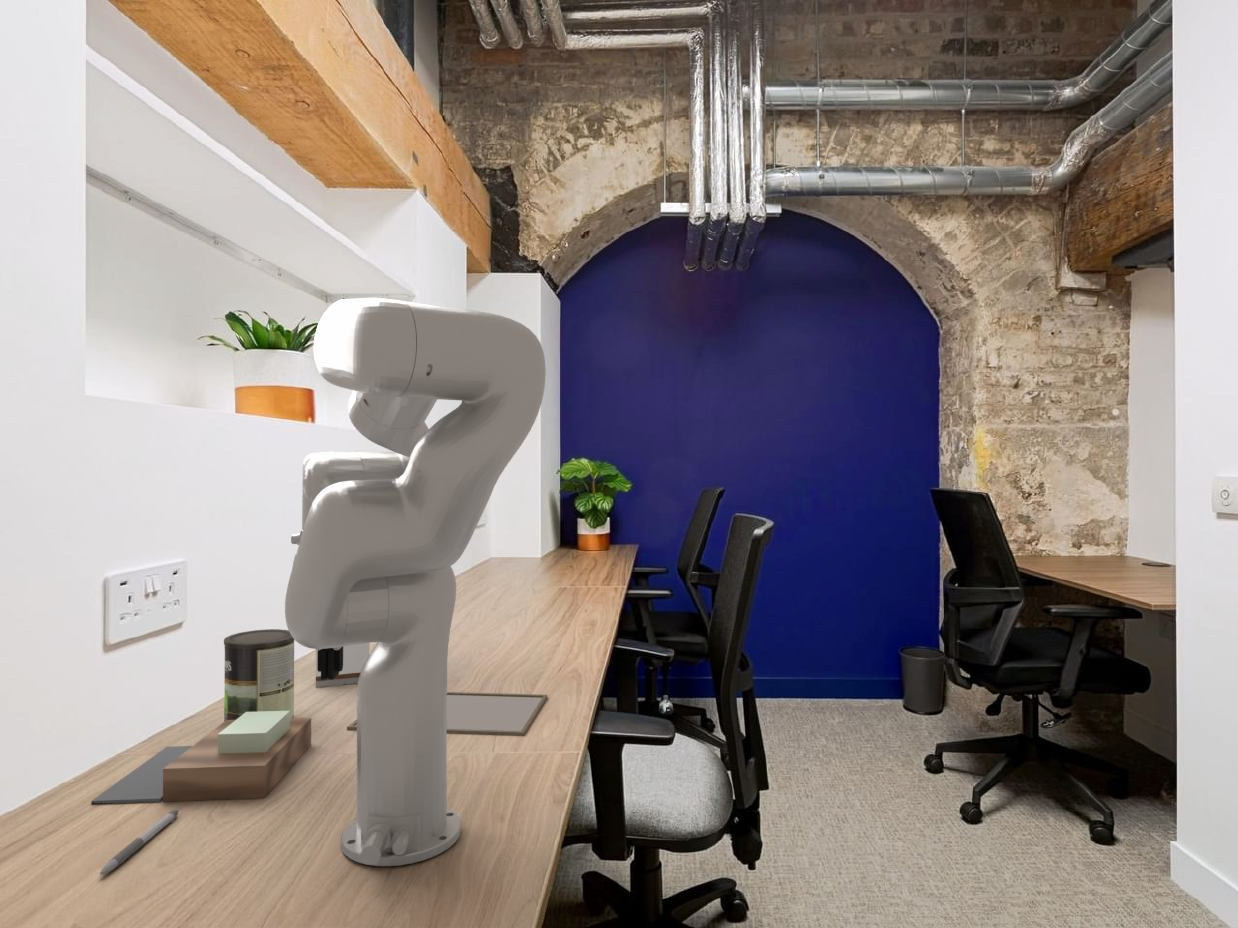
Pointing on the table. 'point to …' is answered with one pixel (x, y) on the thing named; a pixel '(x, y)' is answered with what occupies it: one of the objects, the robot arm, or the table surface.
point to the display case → (347, 666)
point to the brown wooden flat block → (233, 767)
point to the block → (254, 732)
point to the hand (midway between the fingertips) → (330, 676)
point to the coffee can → (259, 672)
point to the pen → (139, 842)
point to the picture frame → (489, 713)
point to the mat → (142, 780)
